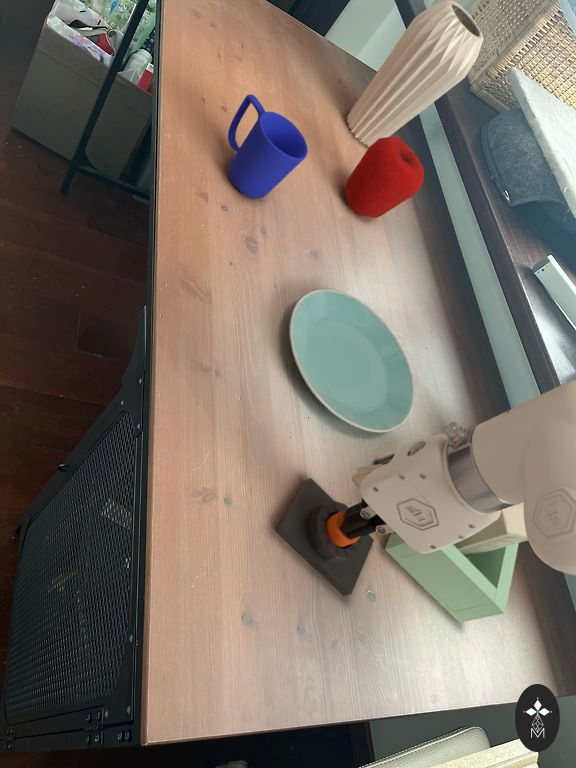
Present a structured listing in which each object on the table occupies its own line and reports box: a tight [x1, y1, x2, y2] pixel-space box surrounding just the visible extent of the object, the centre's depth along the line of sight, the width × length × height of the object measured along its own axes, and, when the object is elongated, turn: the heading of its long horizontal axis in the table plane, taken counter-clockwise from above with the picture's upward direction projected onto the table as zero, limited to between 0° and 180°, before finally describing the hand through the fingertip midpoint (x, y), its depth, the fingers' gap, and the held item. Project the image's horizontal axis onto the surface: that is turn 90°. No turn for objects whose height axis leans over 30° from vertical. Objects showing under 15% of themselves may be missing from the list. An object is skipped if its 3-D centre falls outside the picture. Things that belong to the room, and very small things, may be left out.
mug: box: [227, 93, 309, 199], centre depth 88 cm, size 8×12×10 cm
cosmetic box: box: [453, 502, 528, 558], centre depth 77 cm, size 6×4×12 cm
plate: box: [288, 288, 416, 434], centre depth 85 cm, size 22×22×3 cm
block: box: [275, 477, 375, 597], centre depth 70 cm, size 11×8×3 cm
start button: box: [326, 511, 360, 547], centre depth 68 cm, size 4×4×2 cm
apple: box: [345, 136, 425, 219], centre depth 104 cm, size 11×10×14 cm
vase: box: [346, 0, 485, 148], centre depth 113 cm, size 13×13×26 cm
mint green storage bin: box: [384, 533, 520, 624], centre depth 79 cm, size 14×14×7 cm
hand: (349, 524), depth 68 cm, fingers closed
